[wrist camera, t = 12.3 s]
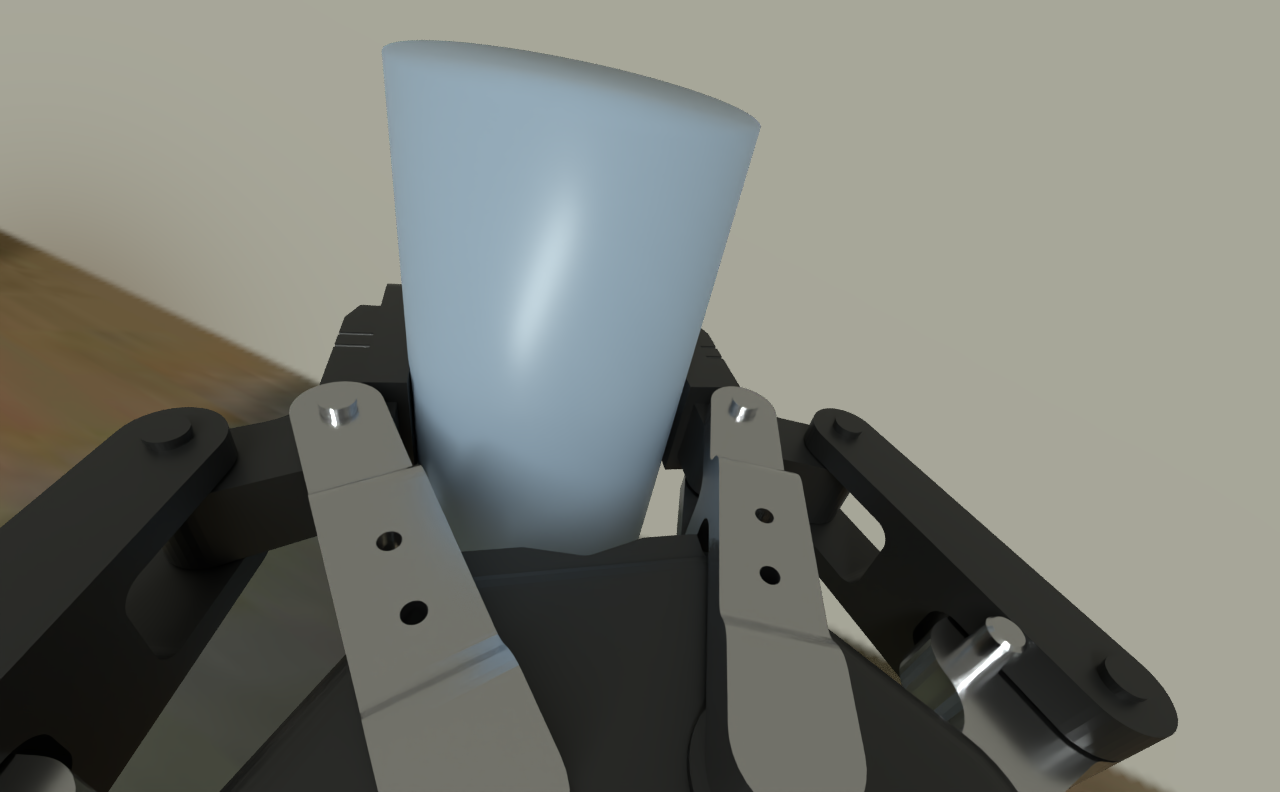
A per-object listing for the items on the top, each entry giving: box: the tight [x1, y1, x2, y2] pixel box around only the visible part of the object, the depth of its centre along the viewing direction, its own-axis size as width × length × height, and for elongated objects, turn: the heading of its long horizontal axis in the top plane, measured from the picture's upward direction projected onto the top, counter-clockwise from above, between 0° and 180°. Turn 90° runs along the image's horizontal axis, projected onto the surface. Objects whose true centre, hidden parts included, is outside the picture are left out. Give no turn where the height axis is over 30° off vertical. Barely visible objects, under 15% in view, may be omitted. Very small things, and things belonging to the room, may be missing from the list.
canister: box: [382, 40, 761, 555], centre depth 11 cm, size 5×5×14 cm
